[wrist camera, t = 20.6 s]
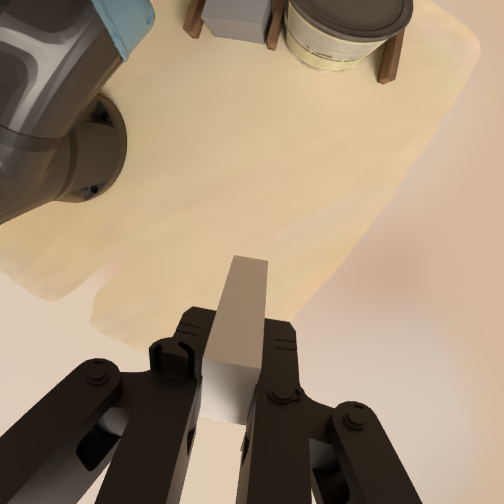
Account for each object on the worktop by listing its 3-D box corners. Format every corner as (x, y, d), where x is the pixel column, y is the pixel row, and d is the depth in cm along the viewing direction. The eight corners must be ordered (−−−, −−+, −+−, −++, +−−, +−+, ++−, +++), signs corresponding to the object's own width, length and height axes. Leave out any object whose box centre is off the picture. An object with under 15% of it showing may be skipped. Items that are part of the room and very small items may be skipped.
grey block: (214, 36, 28) (200, 16, 22) (223, 10, 27) (211, -14, 20) (264, 44, 29) (260, 24, 22) (272, 17, 27) (270, -7, 21)
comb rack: (192, 38, 29) (182, 28, 25) (217, -34, 24) (211, -48, 20) (383, 84, 29) (395, 79, 25) (397, 10, 24) (409, -1, 21)
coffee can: (270, 9, 27) (266, -51, 14) (350, -3, 25) (383, -58, 12) (297, 82, 30) (310, 49, 17) (378, 67, 28) (432, 37, 15)
